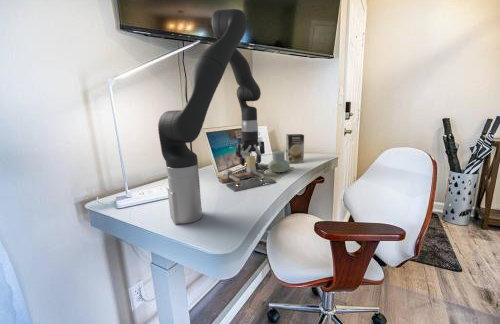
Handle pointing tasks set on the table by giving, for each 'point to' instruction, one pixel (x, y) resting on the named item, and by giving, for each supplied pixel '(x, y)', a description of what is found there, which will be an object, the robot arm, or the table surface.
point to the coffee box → (295, 148)
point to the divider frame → (236, 176)
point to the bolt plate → (249, 183)
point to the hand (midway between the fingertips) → (251, 164)
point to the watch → (255, 159)
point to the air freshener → (278, 162)
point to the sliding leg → (252, 166)
